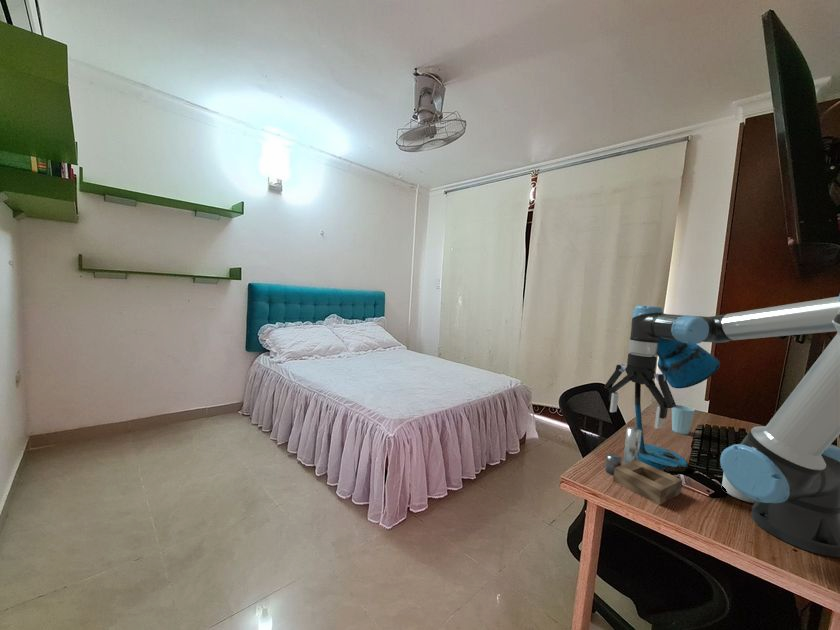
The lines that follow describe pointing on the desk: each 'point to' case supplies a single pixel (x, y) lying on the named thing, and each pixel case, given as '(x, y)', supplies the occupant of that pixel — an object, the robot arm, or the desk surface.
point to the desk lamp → (682, 371)
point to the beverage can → (734, 491)
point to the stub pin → (612, 462)
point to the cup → (682, 419)
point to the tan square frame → (648, 481)
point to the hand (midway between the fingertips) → (634, 419)
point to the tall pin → (632, 444)
